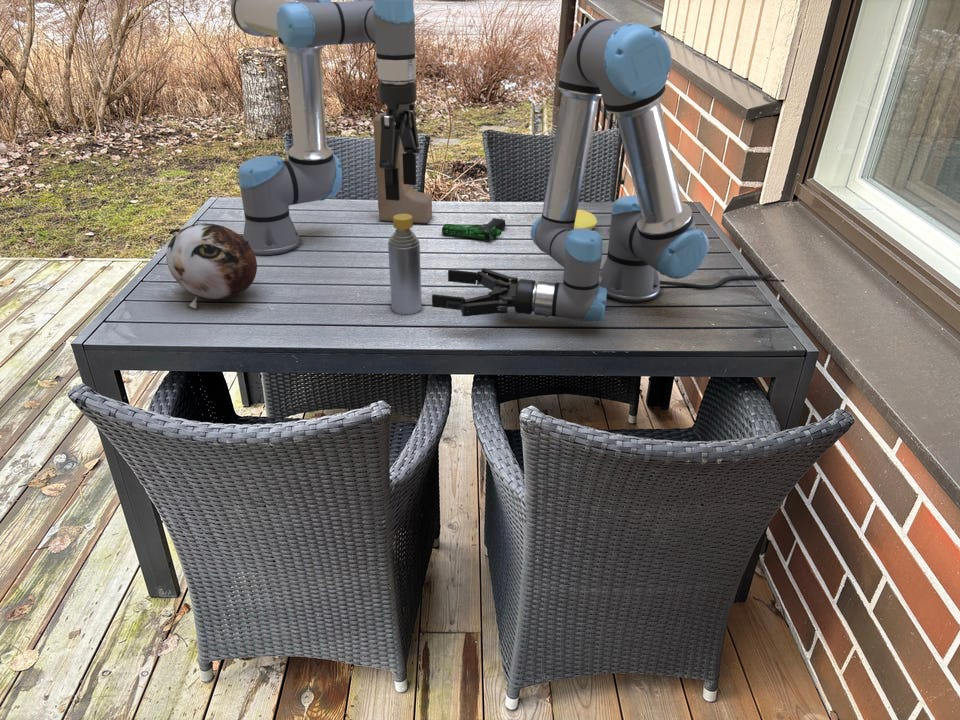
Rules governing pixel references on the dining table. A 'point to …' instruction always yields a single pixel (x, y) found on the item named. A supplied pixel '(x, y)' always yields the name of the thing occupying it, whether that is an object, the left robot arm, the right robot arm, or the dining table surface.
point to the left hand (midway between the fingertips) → (401, 191)
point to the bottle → (405, 272)
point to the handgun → (476, 230)
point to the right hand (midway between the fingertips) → (440, 287)
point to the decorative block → (409, 198)
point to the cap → (402, 221)
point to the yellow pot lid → (584, 220)
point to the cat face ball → (211, 261)
